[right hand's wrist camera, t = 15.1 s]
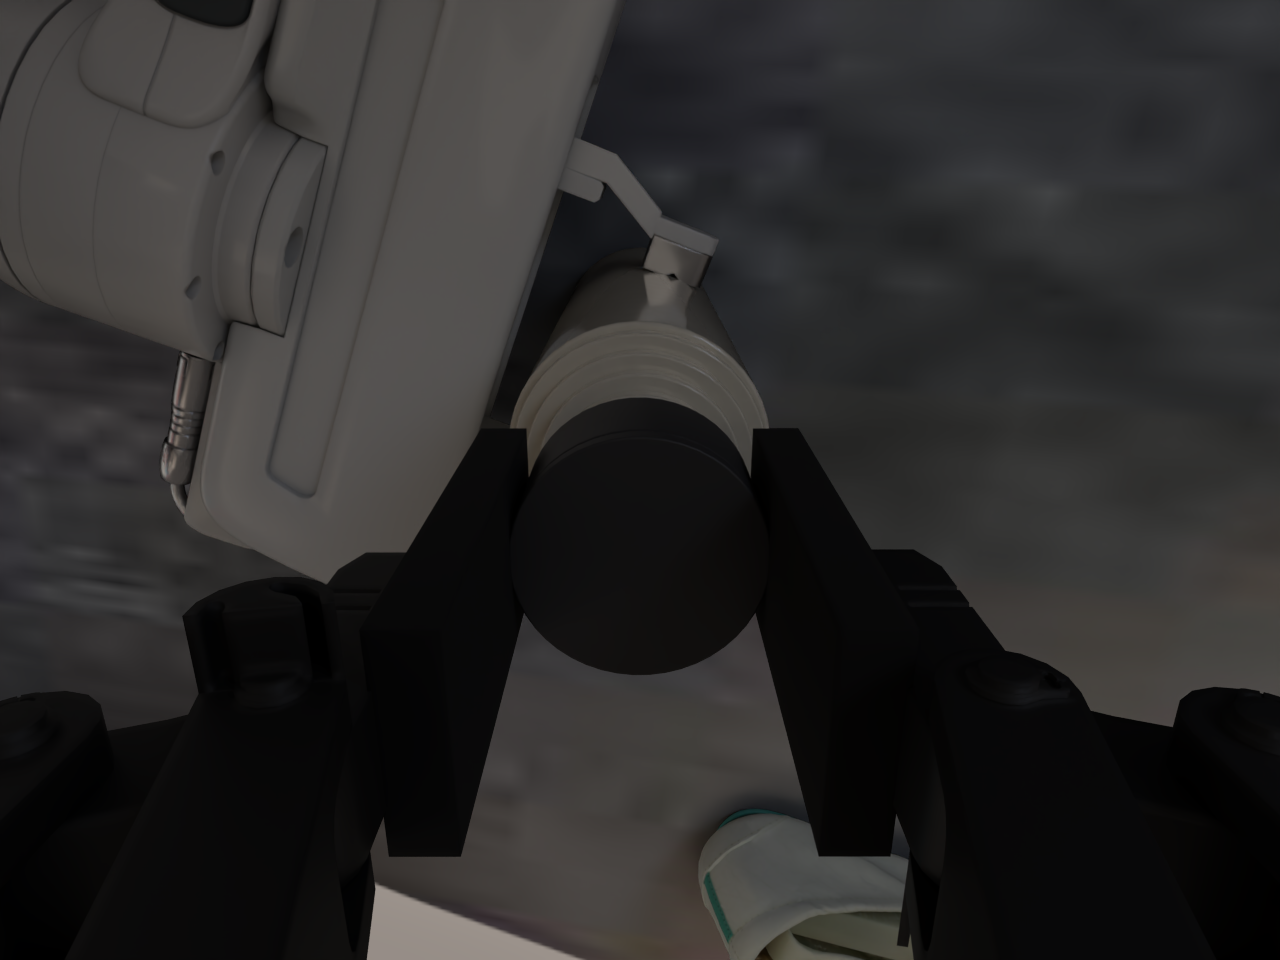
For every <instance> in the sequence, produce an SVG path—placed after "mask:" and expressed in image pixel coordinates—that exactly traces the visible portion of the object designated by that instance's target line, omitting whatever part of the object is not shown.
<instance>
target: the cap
mask: <svg viewBox="0 0 1280 960" xmlns="http://www.w3.org/2000/svg"><path fill="white" fill-rule="evenodd" d="M769 546H770V535H769V531H768V527H767V523H766V520H765V517H764V514H763V511H762V508H761V506H760V503H759V500H758V497H757V494H756V492H755V489H754V486H753V483H752V481H751V478H750V475H749V472H748V470H747V467H746V465H745V462H744V460H743V458H742V456H741V454H740V453H739V451H738V449H737V448H736V446H735V445H734V444H733V442H732V441H731V440H730V438H729V437H728V436H727V435H726V434H725V433H724V432H723V431H722V430H721V429H720V428H719V427H718V426H717V425H716V424H714V423H713V422H712V421H710V420H709V419H708V418H706V417H705V416H703V415H702V414H700V413H698V412H696V411H694V410H692V409H691V408H688V407H685V406H683V405H680V404H678V403H675V402H670V401H666V400H662V399H655V398H646V397H644V398H624V399H617V400H613V401H609V402H605V403H602V404H599V405H596V406H594V407H592V408H589V409H587V410H585V411H583V412H581V413H580V414H578V415H576V416H574V417H573V418H571V419H570V420H569V421H568V422H566V423H565V424H564V425H562V426H561V427H560V428H559V429H558V430H557V431H556V432H555V433H554V434H553V435H552V436H551V437H550V439H549V440H548V441H547V443H546V444H545V445H544V447H543V448H542V450H541V451H540V453H539V455H538V457H537V459H536V461H535V463H534V466H533V468H532V471H531V473H530V476H529V479H528V482H527V485H526V488H525V490H524V493H523V496H522V499H521V502H520V504H519V507H518V510H517V513H516V516H515V519H514V521H513V524H512V529H511V533H510V558H511V575H512V586H513V589H514V592H515V594H516V597H517V600H518V602H519V604H520V606H521V608H522V609H523V611H524V613H525V615H526V616H527V618H528V619H529V620H530V622H531V623H532V624H533V626H534V627H535V628H536V629H537V631H538V632H539V633H540V634H541V635H542V636H543V637H544V638H545V639H546V640H547V641H549V642H550V643H551V644H552V645H553V646H555V647H556V648H557V649H558V650H560V651H562V652H563V653H565V654H566V655H568V656H569V657H571V658H573V659H575V660H577V661H579V662H581V663H584V664H586V665H588V666H591V667H594V668H597V669H600V670H604V671H609V672H613V673H619V674H629V675H651V674H659V673H667V672H671V671H675V670H679V669H683V668H685V667H688V666H691V665H693V664H696V663H698V662H700V661H702V660H704V659H706V658H708V657H710V656H712V655H713V654H715V653H716V652H718V651H719V650H721V649H722V648H724V647H725V646H726V645H727V644H728V643H730V642H731V641H732V640H733V639H734V638H735V637H736V636H737V635H738V634H739V633H740V632H741V631H742V630H743V629H744V628H745V626H746V625H747V624H748V623H749V621H750V620H751V618H752V617H753V615H754V614H755V612H756V611H757V609H758V607H759V605H760V603H761V601H762V599H763V596H764V593H765V590H766V587H767V580H768V564H769Z"/></svg>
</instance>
